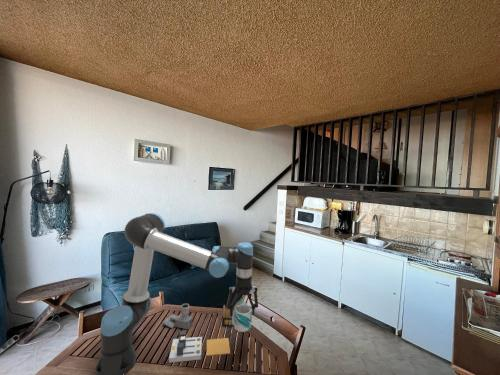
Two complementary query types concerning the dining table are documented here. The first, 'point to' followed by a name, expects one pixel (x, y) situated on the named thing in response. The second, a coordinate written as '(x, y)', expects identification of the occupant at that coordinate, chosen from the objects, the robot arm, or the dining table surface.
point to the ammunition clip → (227, 318)
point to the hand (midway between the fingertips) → (241, 321)
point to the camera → (180, 319)
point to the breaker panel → (187, 350)
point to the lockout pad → (218, 347)
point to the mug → (242, 317)
